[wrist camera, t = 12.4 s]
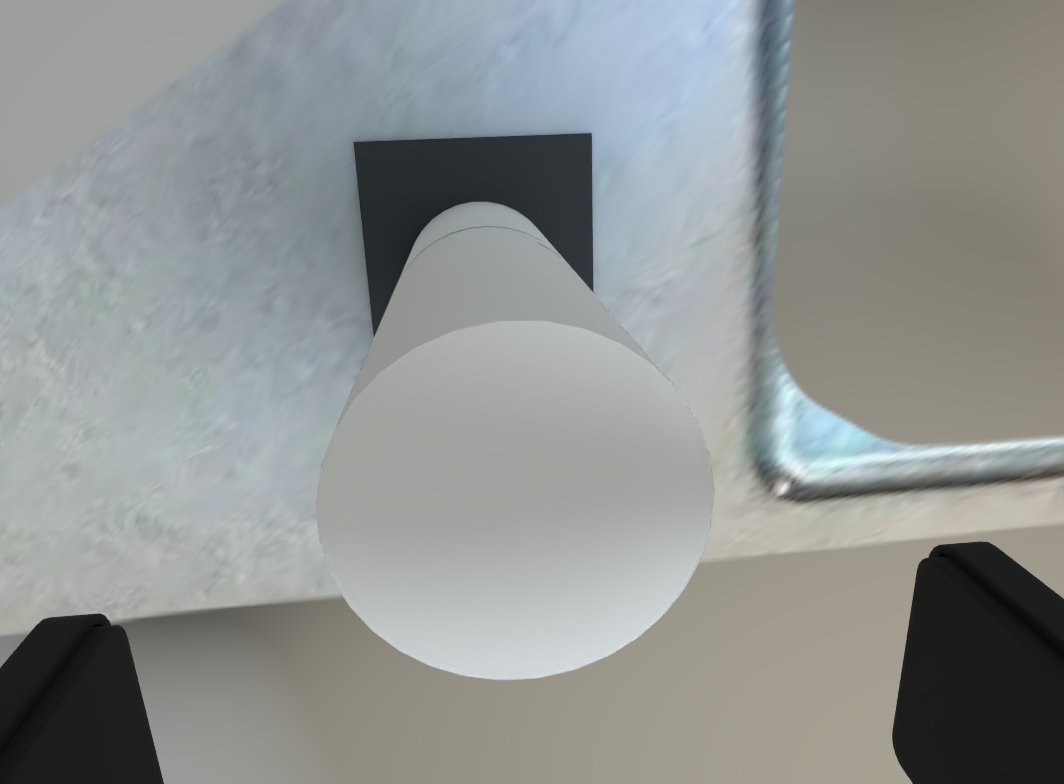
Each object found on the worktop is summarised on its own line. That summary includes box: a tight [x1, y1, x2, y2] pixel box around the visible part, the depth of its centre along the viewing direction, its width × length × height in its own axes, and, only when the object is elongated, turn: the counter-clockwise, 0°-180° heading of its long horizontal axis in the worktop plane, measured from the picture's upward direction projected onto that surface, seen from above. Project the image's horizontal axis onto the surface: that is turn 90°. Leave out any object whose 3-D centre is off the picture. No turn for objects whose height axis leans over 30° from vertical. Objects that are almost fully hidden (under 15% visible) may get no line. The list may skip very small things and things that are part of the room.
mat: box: [354, 133, 593, 337], centre depth 38 cm, size 13×11×1 cm
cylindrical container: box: [316, 202, 714, 680], centre depth 26 cm, size 7×7×25 cm
